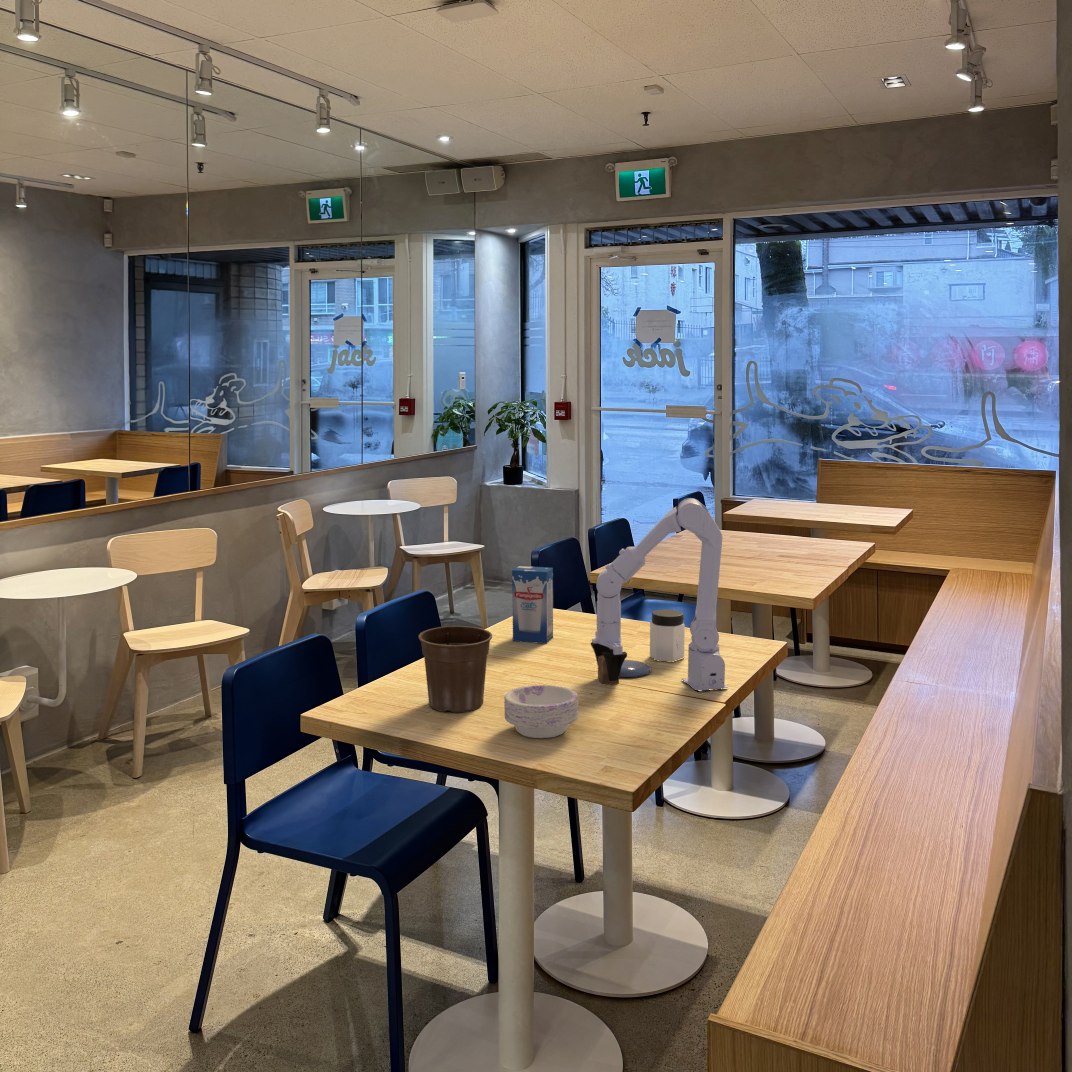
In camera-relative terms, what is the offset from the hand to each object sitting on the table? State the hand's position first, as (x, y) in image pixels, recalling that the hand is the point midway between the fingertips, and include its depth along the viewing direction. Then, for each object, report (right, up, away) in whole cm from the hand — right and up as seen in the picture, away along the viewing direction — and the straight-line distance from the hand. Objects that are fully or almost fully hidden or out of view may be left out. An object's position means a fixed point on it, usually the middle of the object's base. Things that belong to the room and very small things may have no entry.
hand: (608, 675), depth 238 cm
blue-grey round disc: (+5, 0, +9) cm, 10 cm away
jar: (+17, +2, +20) cm, 26 cm away
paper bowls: (-16, -7, -32) cm, 37 cm away
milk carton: (-18, +5, +38) cm, 43 cm away
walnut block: (0, -1, 0) cm, 2 cm away
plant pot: (-35, -4, -16) cm, 39 cm away
